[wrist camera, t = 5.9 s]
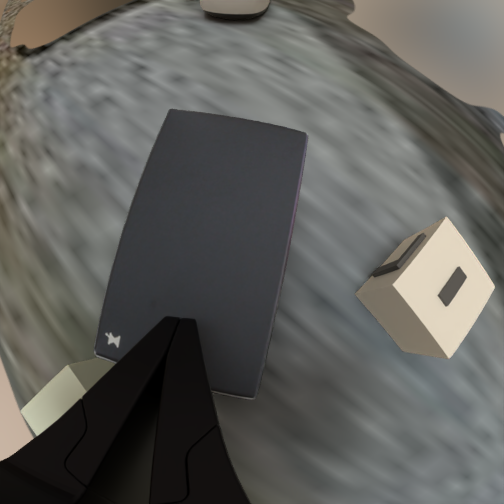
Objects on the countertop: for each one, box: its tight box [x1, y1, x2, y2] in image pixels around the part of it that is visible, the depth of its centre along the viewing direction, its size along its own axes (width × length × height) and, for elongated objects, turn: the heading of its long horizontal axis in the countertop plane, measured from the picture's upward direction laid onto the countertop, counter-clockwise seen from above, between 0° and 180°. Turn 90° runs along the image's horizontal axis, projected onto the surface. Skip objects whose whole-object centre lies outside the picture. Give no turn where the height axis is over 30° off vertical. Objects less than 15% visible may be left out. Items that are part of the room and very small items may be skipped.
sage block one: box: [21, 358, 115, 436], centre depth 15 cm, size 6×6×6 cm
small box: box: [94, 109, 308, 400], centre depth 15 cm, size 11×6×10 cm, turn 168°
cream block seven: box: [355, 217, 495, 359], centre depth 17 cm, size 6×6×6 cm
